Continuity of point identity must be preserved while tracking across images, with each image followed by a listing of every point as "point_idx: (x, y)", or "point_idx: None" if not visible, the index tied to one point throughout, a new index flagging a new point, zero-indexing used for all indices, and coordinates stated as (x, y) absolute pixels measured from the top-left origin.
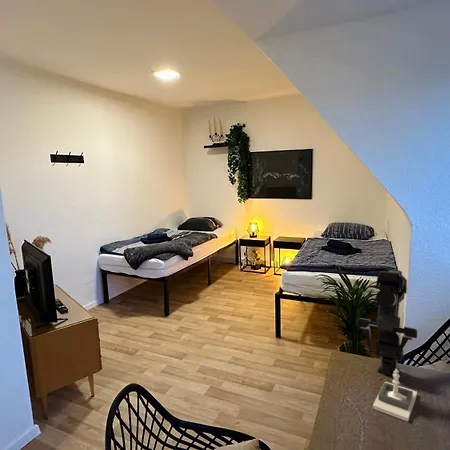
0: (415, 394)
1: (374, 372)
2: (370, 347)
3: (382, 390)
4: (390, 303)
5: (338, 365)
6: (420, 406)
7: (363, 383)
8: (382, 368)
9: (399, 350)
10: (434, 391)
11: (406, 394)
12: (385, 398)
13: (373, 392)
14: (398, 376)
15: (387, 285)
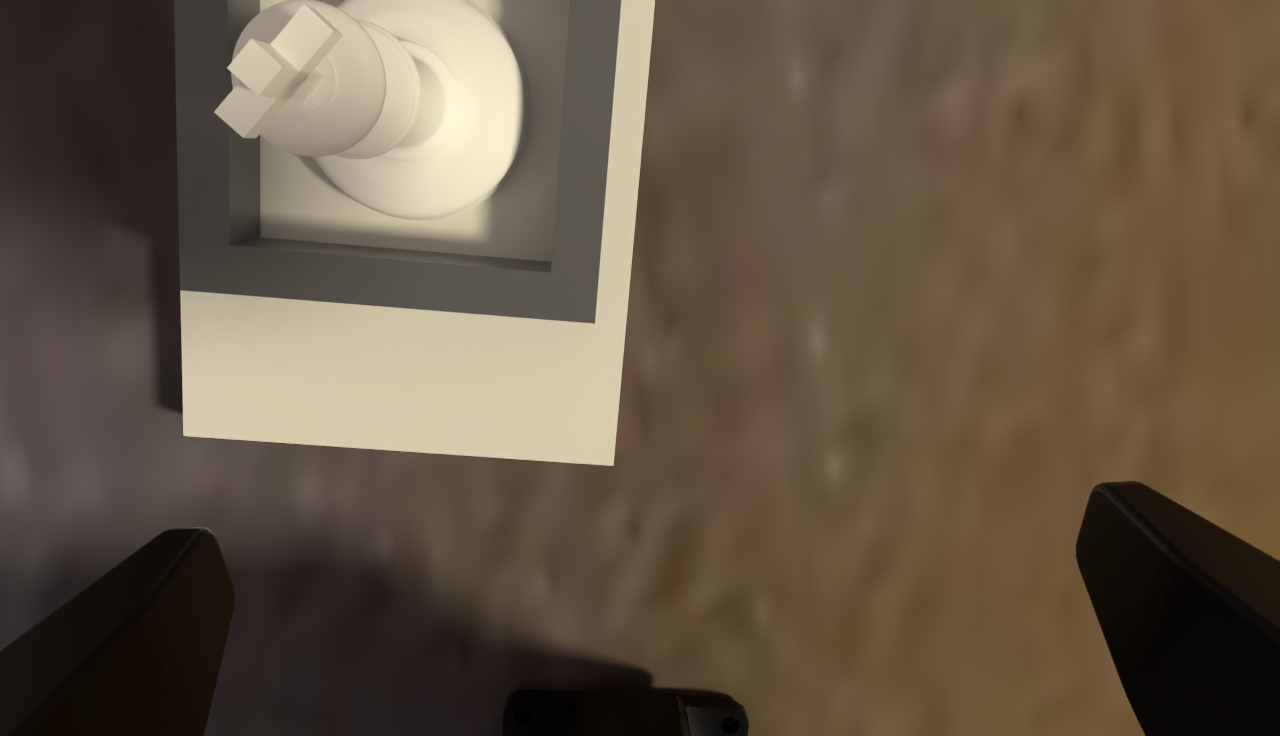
0: (189, 351)
1: (778, 672)
2: (1106, 595)
3: (593, 56)
4: None
5: None
6: (118, 169)
7: (878, 323)
8: (688, 733)
9: (72, 664)
10: (30, 622)
11: (281, 242)
12: None
13: (723, 169)
14: (245, 27)
15: None
